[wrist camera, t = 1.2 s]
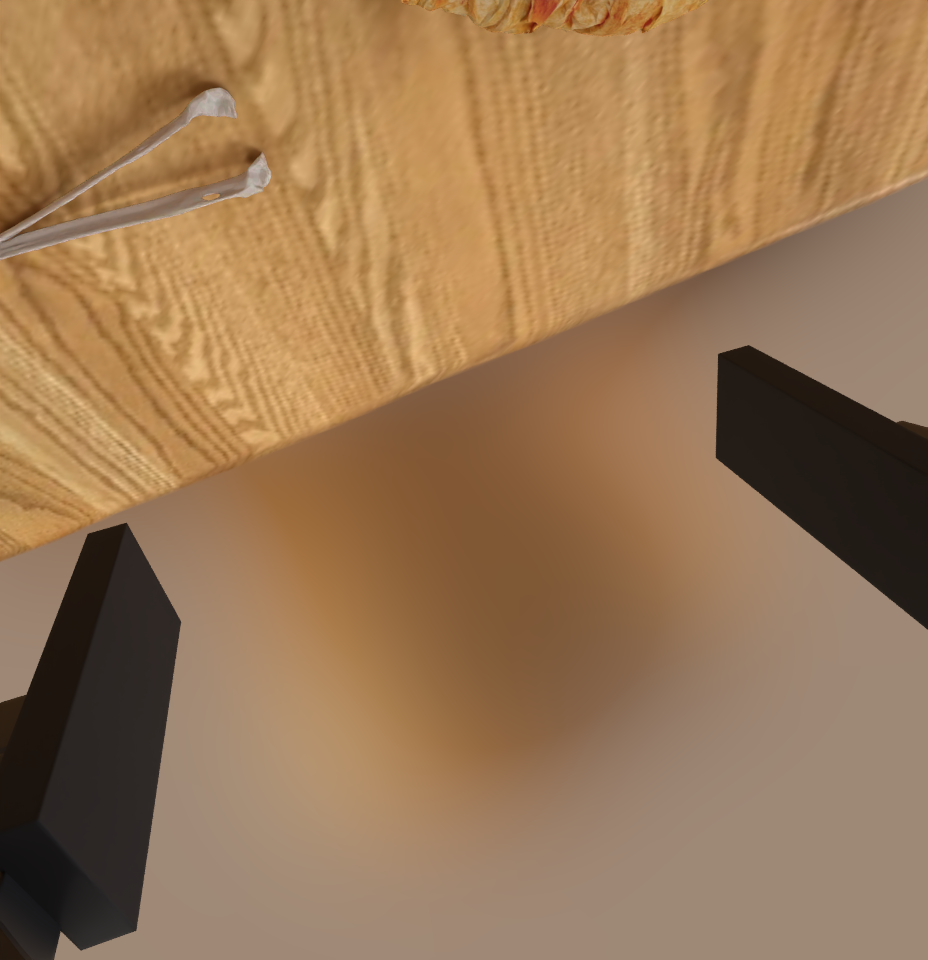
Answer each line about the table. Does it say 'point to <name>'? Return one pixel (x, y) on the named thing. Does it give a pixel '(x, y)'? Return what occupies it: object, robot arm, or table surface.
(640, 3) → the croissant
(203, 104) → the tweezers
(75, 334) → the table surface
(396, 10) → the table surface
